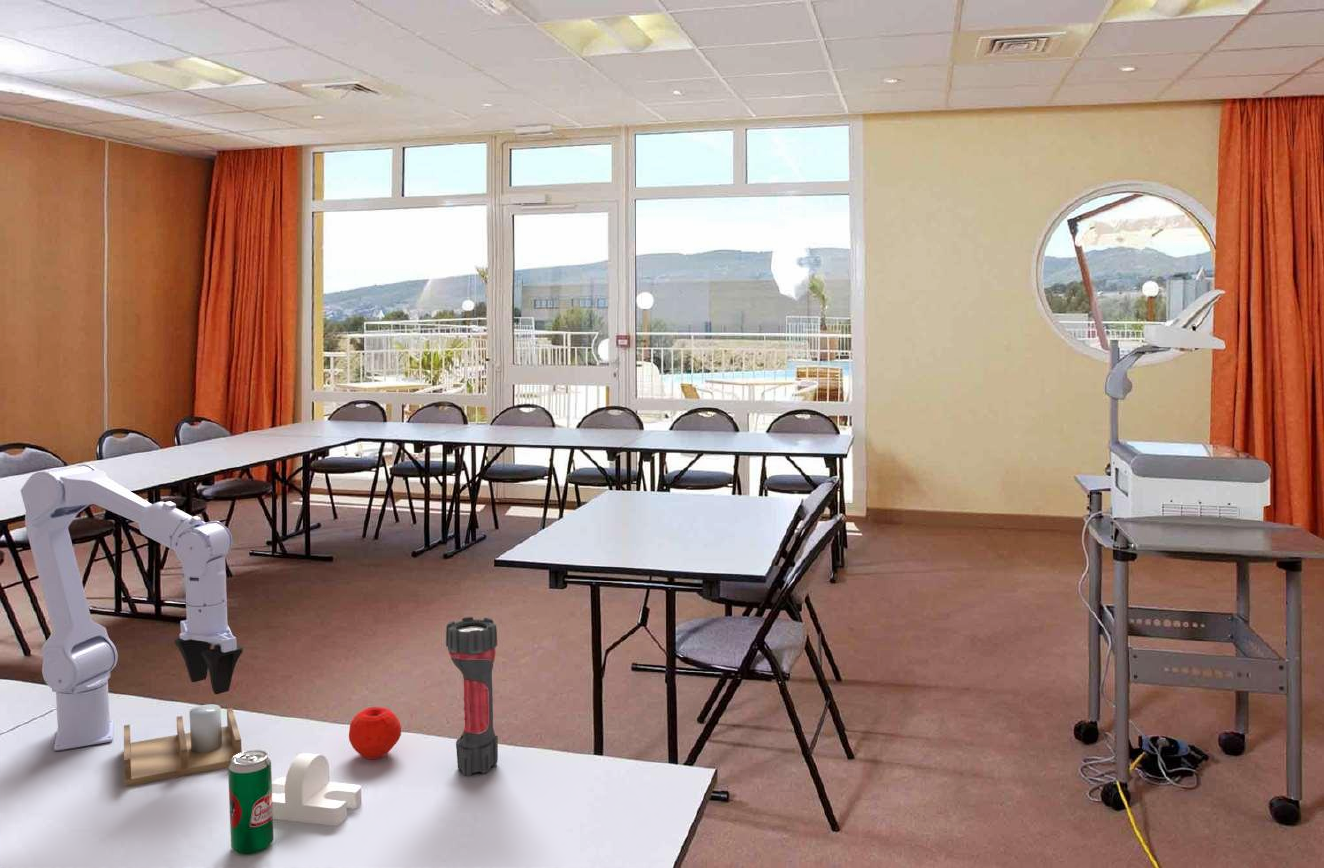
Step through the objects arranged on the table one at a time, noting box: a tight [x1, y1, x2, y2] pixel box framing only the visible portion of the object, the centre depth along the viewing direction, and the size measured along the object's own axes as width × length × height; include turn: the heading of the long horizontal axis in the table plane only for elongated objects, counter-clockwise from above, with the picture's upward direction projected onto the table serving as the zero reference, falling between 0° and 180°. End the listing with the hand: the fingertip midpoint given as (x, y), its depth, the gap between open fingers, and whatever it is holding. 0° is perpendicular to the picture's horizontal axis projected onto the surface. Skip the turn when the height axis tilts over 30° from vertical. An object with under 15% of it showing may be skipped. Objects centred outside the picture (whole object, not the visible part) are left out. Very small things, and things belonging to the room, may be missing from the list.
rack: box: [123, 707, 243, 787], centre depth 150 cm, size 14×16×4 cm
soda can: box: [227, 749, 275, 856], centre depth 124 cm, size 5×5×12 cm
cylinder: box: [189, 703, 222, 753], centre depth 151 cm, size 4×4×6 cm
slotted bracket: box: [272, 752, 362, 826], centre depth 134 cm, size 13×7×8 cm, turn 79°
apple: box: [348, 706, 402, 760], centre depth 151 cm, size 8×8×7 cm
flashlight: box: [445, 616, 499, 777], centre depth 145 cm, size 8×8×23 cm
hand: (209, 686), depth 151 cm, fingers open, 7 cm apart
